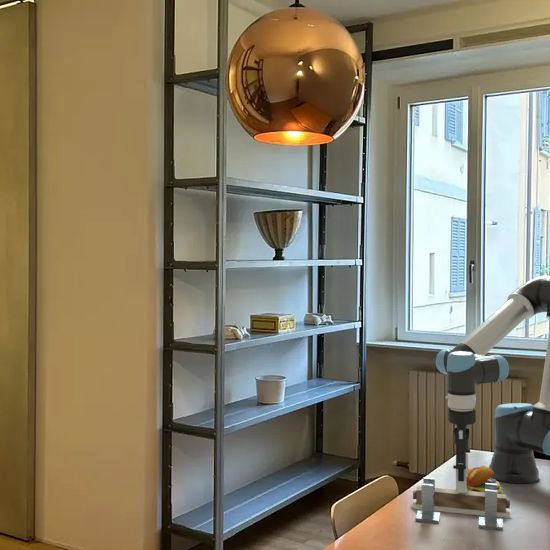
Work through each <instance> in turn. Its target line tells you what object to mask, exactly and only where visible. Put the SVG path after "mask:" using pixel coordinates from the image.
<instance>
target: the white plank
mask: <svg viewBox="0 0 550 550" xmlns="http://www.w3.org/2000/svg"><path fill="white" fill-rule="evenodd" d="M411 509H415V510H422V505H419V504H416V499H413V502H412V505H411ZM434 512H446V513H454V514H456V513H457V514H465V515H477V516H482V517H485V511H479V510H469V509H459V508H449V507H439V506H434ZM497 518H501V519H511V508H510V509H508V508H506V513H500V512H497Z"/></svg>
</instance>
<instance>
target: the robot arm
mask: <svg viewBox="0 0 550 550" xmlns="http://www.w3.org/2000/svg"><path fill="white" fill-rule="evenodd" d="M506 300H507V301H506V302H505V303H504V304H502V306H500V307H499V308H498V309H497V310H495V311H494V312H493V313H492V314H491V315H490V316H489V317H488V318H486V319H485V320H484V321H483V322H482V323H481V324H480V325H478V327H476V328H475V329H474V330H472V332H470V333H469V335H467V336H466V337H465V338H464V339H462V340H461V341H460V342H459V343H458V344H457V345H456V346H454V347H453V348H452V349H451V348H447V349H446V348H445V349H444V348H443V349H441V350H440V351H439V352H438V353H437V354H436V357H435V366H436V368H437V370H438V372H440V373H442V374H444V375H446V377H447V379H446V380H447V381H446V383H447V384H446V385H447V395H445V400H447V407H448V409H447V421H448V423H449V424H453V425H456V427H454V430H453V435H454V444H455V464H454V465H453V467H452V468H453V469H455V490H456V492H461V493H467V487H466V477H468V469H469V454H470V453H471V448H469V438H470V427H468V425H469V426H471V425H473V424H475V423H476V420H477V417H476V416H477V413H476V412H477V411H476V405H477V403H476V401H477V400H476V399H477V397H476V394H477V392H476V386H479V385H484V384H485V385H486V384H491V383H494V384H495V383H498V382H502V381H504V380H506V379H507V377H508V376H509V374H510V366H509V365H510V364H509V362H508V361H507V359H506V358H505V357H504V356H502V355H499V354H491V355H486V354H488V353H489V352H490V351H491V350H492V349H494V347H495V346H497V344H499V343H500V342H501V341H502V340H503V339H504V338H505V337H506V336H508V335H509V334H510V333H511V332H512V331H513V330H514V329H516V328H517V327H518V326H519V325H520V324H521V323H522V322H523V321H524V320H530V319H532V318H533V317H534V316H535V315H537V314H541V313H546V317H545V318H546V319H547V320H548V321H549V323H550V275H548V274H545V275H541V276H537V277H535V278H532V279H530V280H528V281H527V282H525V283H523V284H522V285H521V286H519V287H517V288H516V289H515V290H514V291H512V292H511V293H510V294H509V295H508V297H507V299H506ZM545 352H546V353H545V358H544V359H545V360H544V367H543V372H542V373H543V374H542V379H541V380H542V381H541V388H540V394H539V400H538V402H536V403H535V404H532V403H527V402H525V403H523V402H518V403H517V402H514V403H513V402H512V403H511V402H510V403H503V404H499V405H498V406H496V407H495V409H494V410H495V412H494V414H495V415H494V451H493V455H492V457H491V460H490V464H489V466H488V468H490V469H491V470H492V471H493V472H494V474H493V476H492V477H491V479H496V481H501V482H505V483H511V484H531V483H535V482H537V481H539V478H540V471H539V469H538V468H537V462H536V459H535V456H534V451H535V452H537V453H542V454H545V455H546V456H549V457H550V330H549V332H548V339H547V345H546V351H545Z"/></svg>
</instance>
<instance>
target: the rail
mask: <svg viewBox="0 0 550 550" xmlns="http://www.w3.org/2000/svg"><path fill="white" fill-rule="evenodd" d="M414 499H416V504H419V505H422V499H421V486H420V485H419V486H418V485H417V488H416V490H413V491H412V500H414ZM434 506H439V507H449V508H459V509H469V510H479V511H485V492H475V491H467V493H461V492H456V489H452V488H451V489H450V488H441V487H435V494H434ZM506 508H508V509H510V510H511V499H509V498H508V499H507V494H505V493H503V494H497V512H500V513H506Z"/></svg>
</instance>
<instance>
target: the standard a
mask: <svg viewBox="0 0 550 550" xmlns="http://www.w3.org/2000/svg"><path fill="white" fill-rule="evenodd" d="M422 482H423V483H421V499H422V509H421V510H420V509H417V512H416V516H415V522H420V523H421V522H422V523H430V524H439V523H440V518H441V512H439V511H434V494H435V488H436V478H435V477H427V476H426V477H425V476H424V477H423V479H422Z"/></svg>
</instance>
